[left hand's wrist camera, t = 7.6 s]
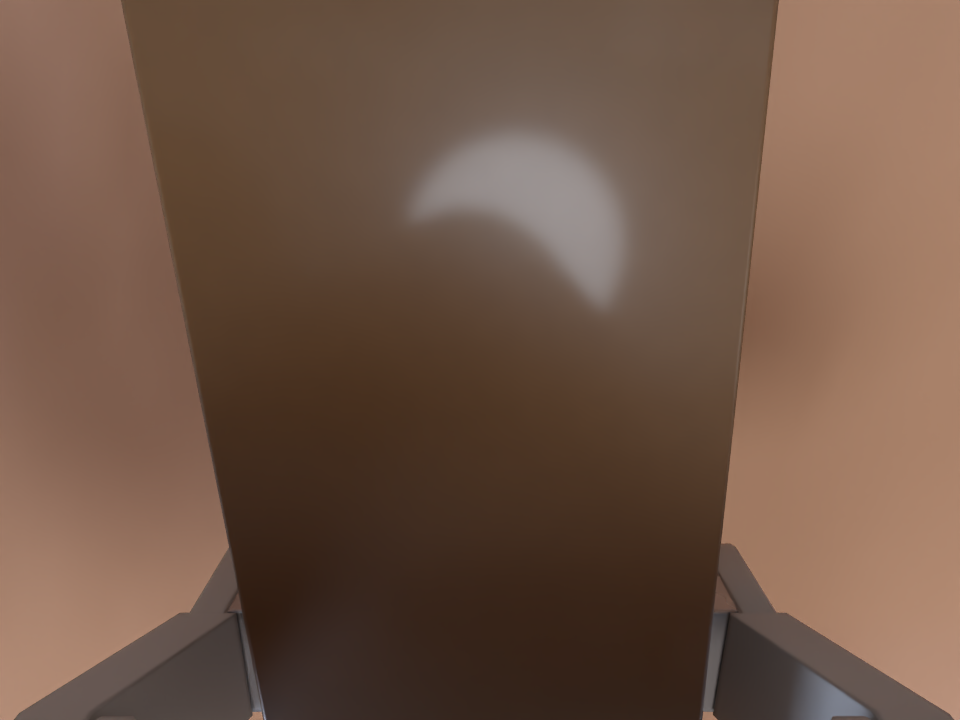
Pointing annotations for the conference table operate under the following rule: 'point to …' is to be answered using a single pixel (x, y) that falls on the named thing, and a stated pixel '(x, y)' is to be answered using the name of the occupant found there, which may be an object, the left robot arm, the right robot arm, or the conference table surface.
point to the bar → (465, 336)
